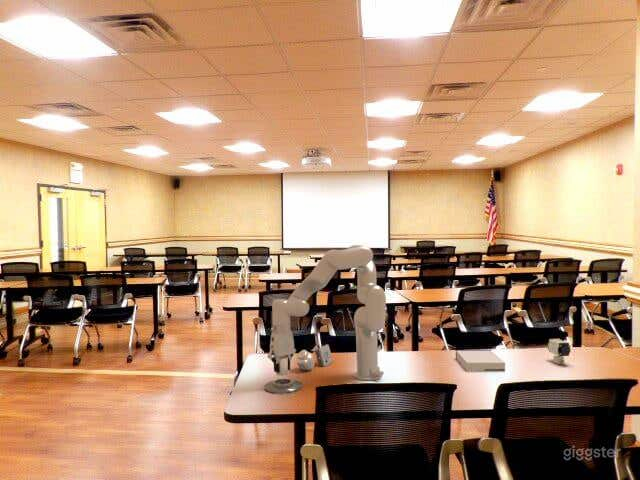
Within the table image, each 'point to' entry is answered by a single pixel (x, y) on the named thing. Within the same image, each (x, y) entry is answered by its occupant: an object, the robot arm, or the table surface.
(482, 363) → the disc drive
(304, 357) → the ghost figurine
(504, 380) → the table surface
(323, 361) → the electrical switch
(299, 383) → the socket
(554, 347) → the security camera
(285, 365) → the white rounded cylinder
